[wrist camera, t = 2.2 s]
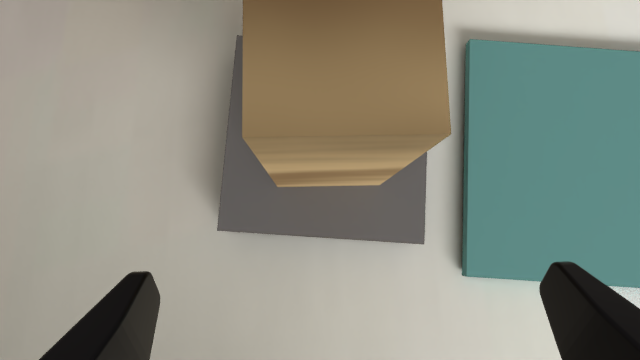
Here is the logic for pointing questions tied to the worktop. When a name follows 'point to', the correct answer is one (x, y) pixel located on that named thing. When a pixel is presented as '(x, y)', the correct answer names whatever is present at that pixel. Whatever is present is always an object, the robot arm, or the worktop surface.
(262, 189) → the charcoal board
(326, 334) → the worktop surface
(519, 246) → the teal mat
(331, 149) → the oak block
